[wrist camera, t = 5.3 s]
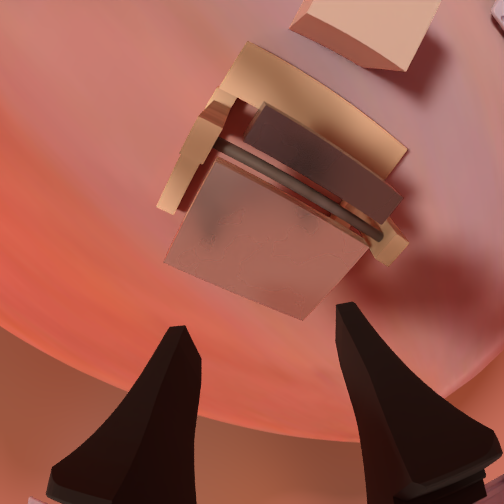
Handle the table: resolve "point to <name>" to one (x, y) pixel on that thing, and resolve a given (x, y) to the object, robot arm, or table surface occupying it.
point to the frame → (308, 113)
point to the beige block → (367, 29)
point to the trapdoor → (278, 220)
